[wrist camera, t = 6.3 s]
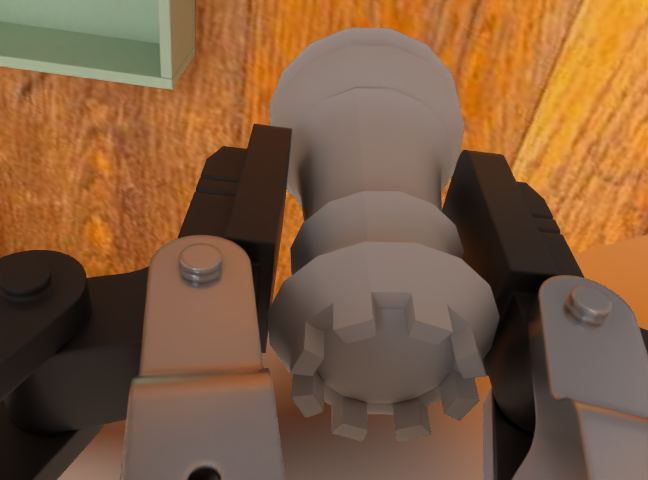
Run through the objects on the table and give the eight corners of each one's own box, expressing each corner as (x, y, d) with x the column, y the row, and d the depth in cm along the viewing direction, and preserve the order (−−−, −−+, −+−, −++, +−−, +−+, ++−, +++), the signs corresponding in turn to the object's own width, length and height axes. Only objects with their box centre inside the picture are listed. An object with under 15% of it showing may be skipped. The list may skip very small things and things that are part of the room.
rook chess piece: (248, 39, 13) (159, 282, 6) (452, 0, 12) (581, 224, 6) (293, 204, 15) (263, 489, 9) (462, 178, 15) (556, 465, 8)
